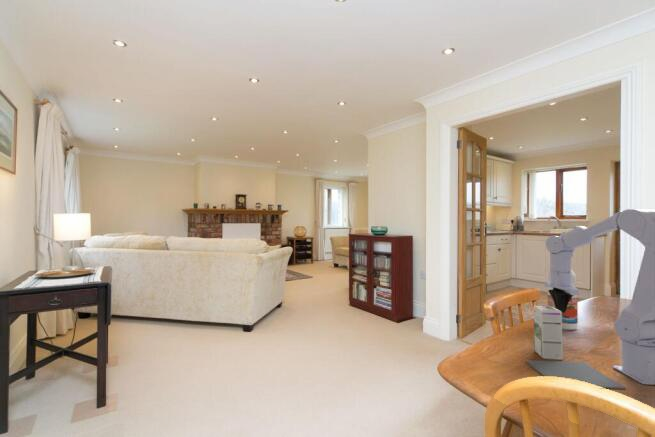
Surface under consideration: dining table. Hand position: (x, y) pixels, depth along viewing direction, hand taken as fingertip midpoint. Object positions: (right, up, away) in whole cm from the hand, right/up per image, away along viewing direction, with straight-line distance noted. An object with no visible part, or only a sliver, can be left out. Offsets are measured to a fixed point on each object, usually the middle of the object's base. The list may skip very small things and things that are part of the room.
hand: (560, 312), depth 107 cm
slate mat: (-13, -10, -22) cm, 28 cm away
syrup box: (-11, -11, -10) cm, 19 cm away
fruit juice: (+13, -11, +17) cm, 24 cm away
